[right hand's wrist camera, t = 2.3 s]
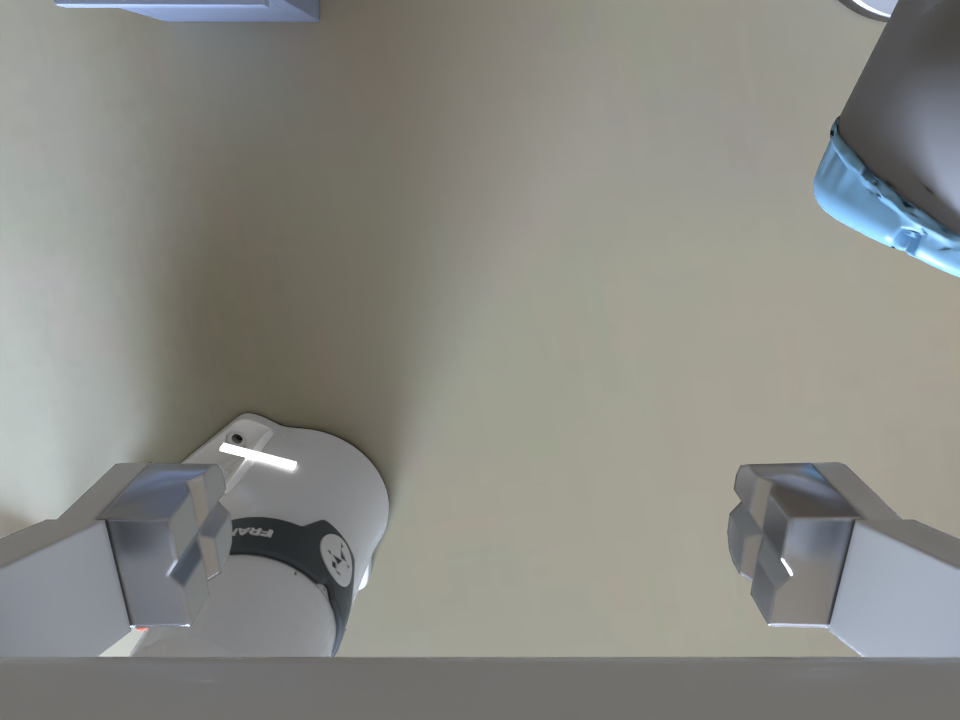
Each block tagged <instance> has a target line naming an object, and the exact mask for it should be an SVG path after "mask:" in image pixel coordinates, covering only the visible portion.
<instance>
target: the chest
mask: <svg viewBox="0 0 960 720" xmlns="http://www.w3.org/2000/svg"><path fill="white" fill-rule="evenodd" d="M122 9H125V10H129V11H132V12H135V13H139V14H142V15H146V16H149V17H152V18H156V19H159V20H163V21H220V22H320V16H319V3H318V0H269V8H122Z"/></svg>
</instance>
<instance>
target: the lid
mask: <svg viewBox="0 0 960 720" xmlns="http://www.w3.org/2000/svg"><path fill="white" fill-rule="evenodd" d="M54 2H55V4H56V5H58V6H62V7H78V8H269V0H54Z"/></svg>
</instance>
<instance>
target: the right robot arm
mask: <svg viewBox="0 0 960 720" xmlns="http://www.w3.org/2000/svg"><path fill="white" fill-rule="evenodd" d="M235 434H238V435H240V436H241V437H242V440H239V439H237V438H236V437H235ZM734 490H735V492H736V493H737V495H738V496H739V498H740V500H741V502H740V503H739V504H738V505H737V506H736V507H735V508H734V509H733V510H732V512H731V513H730V515H729V523H728V531H727V533H728V544H729V551H730V554H731V557H732V561H733V563H734V565H735V567H736V569H737V571H738V572H739V574H741V575H742V576H744V577H745V578H747V579H749V580H750V581H752V588H751V596H752V597H753V599H754V601H755V603H756V604H757V606H758V608H759V610H760V611H761V613H762V615H763V617H764V618H765V620H766V622H767V624H768V625H769V626H778V627H815V628H829V630H828V631H830V632H831V633H832V634H834V635H835V636H836V637H838V638H839V639H840V640H842V641H843V642H844V643H846V644H847V645H848V646H849V647H851V648H852V649H853V650H855V651H856V652H857V653H859V654H860V655H861V656H863V657H334V656H335V654H336V653H337V651H338V649H339V646H340V643H341V642H342V640H343V637H344V634H345V631H346V628H345V627H346V624H347V621H348V617H349V613H350V609H351V607H352V604H353V602H354V599H355V597H356V594H357V592H358V590H360V589H362V588H364V587H365V585H366V584H367V582H368V579H369V577H370V573H371V566H372V554H373V552H374V550H375V548H376V546H377V544H378V542H379V541H380V539H381V537H382V535H383V533H384V531H385V528H386V525H387V521H388V516H389V500H388V495H387V490H386V487H385V485H384V482H383V480H382V478H381V476H380V474H379V473H378V471H377V469H376V468H375V467H374V465H373V464H372V463H371V462H370V461H369V459H368V458H367V457H366V456H365V455H363V454H362V453H361V452H360V451H359V450H358V449H356V448H355V447H353V446H352V445H350V444H349V443H347V442H345V441H344V440H342V439H340V438H337V437H335V436H333V435H330V434H327V433H324V432H320V431H316V430H310V429H302V428H291V427H285V426H281V425H279V424H277V423H275V422H273V421H271V420H268V419H266V418H264V417H262V416H259V415H256V414H252V413H245V414H242V415H240V416H238V417H237V418H236V419H234V420H233V421H232V422H231V423H230V424H228V425H227V426H226V427H225V428H223V429H222V430H221V431H220V432H218V433H217V434H216V435H215V436H214V437H212V438H211V439H210V440H209V441H207V442H206V443H205V444H204V445H202V446H201V447H200V448H199V449H198V450H196V451H195V452H194V453H193V454H191V455H190V456H189V457H188V458H186V459H185V460H184V461H183V462H181V463H151V462H137V463H119V464H115V465H114V466H113V467H112V468H111V469H110V470H109V471H108V472H107V473H106V474H104V475H103V476H102V477H101V478H100V479H99V480H98V481H97V482H96V483H95V484H94V485H93V486H92V487H91V488H90V489H89V490H88V491H87V492H86V493H85V494H83V495H82V496H81V497H80V498H79V499H78V500H77V501H76V502H75V503H74V504H73V505H72V506H71V507H70V508H69V509H68V510H67V511H66V512H65V513H63V514H62V515H61V516H60V517H59V518H58V519H57V520H44V521H42V522H40V523H37V524H35V525H33V526H30V527H28V528H25V529H23V530H21V531H18V532H16V533H13V534H11V535H9V536H6V537H4V538H2V539H0V720H960V539H958V538H956V537H954V536H951V535H949V534H946V533H944V532H942V531H939V530H937V529H935V528H932V527H930V526H927V525H925V524H923V523H920V522H918V521H916V520H903V519H902V518H901V517H900V516H899V515H898V514H897V513H896V512H894V511H893V510H892V509H891V508H890V507H889V506H888V505H887V504H886V503H885V502H884V501H883V500H882V499H881V498H880V497H879V496H878V495H877V494H876V493H875V492H874V491H872V490H871V489H870V488H869V487H868V486H867V485H866V484H865V483H864V482H863V481H862V480H861V479H860V478H859V477H858V476H857V475H856V474H855V473H854V472H853V471H852V470H850V469H849V468H848V467H847V466H846V465H845V464H842V463H839V462H825V463H784V464H747V465H740V467H739V470H738V472H737V474H736V478H735V484H734ZM131 628H137V630H139V631H143V630H145V631H144V633H143V635H142V636H141V638H140V639H139V641H138V642H137V644H136V645H135V647H134V649H133V650H132V652H131V653H130V655H129V656H128V657H98V656H99V655H100V654H102V653H103V652H104V651H105V650H107V649H108V648H109V647H111V646H112V645H113V644H115V643H116V642H117V641H119V640H120V639H121V638H123V637H124V636H125V635H127V634H128V633H129V632H130V631H131Z"/></svg>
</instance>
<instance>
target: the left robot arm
mask: <svg viewBox="0 0 960 720" xmlns="http://www.w3.org/2000/svg"><path fill="white" fill-rule="evenodd" d="M839 1H840V2H841V3H842V4H844V5H845V6H846V7H848V8H849V9H851V10H853V11H854V12H856V13H858V14H860V15H863V16H865V17H867V18H871V19H874V20H878V21H883V22H887V24H886V26H885V28H884V30H883V32H882V34H881V36H880V38H879V40H878V42H877V44H876V46H875V48H874V50H873V52H872V54H871V56H870V58H869V60H868V62H867V64H866V66H865V68H864V70H863V72H862V74H861V76H860V77H859V79H858V81H857V83H856V85H855V87H854V89H853V91H852V93H851V95H850V97H849V99H848V101H847V103H846V105H845V107H844V109H843V111H842V113H841V115H840V116H839V117H837V119H836V120H835V122H834V124H833V125H832V128H831V133H830V137H831V139H830V142H829V144H828V146H827V149H826V151H825V153H824V156H823V158H822V160H821V163H820V165H819V167H818V170H817V172H816V175H815V178H814V184H813V189H814V195H815V198H816V200H817V202H818V203H819V205H820V206H821V207H822V209H823V210H825V211H826V212H827V213H828V214H829V215H831V216H832V217H834V218H835V219H837V220H838V221H840V222H842V223H844V224H845V225H847V226H849V227H851V228H853V229H855V230H856V231H858V232H860V233H862V234H864V235H866V236H868V237H870V238H872V239H874V240H876V241H879V242H881V243H883V244H885V245H887V246H890V247H892V248H895V249H898V250H903V251H906V252H907V253H908V254H909V255H911V256H913V257H915V258H918V259H920V260H922V261H924V262H925V263H927V264H929V265H931V266H933V267H936V268H938V269H940V270H943V271H945V272H948V273H950V274H952V275H955V276H957V277H960V0H839Z"/></svg>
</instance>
